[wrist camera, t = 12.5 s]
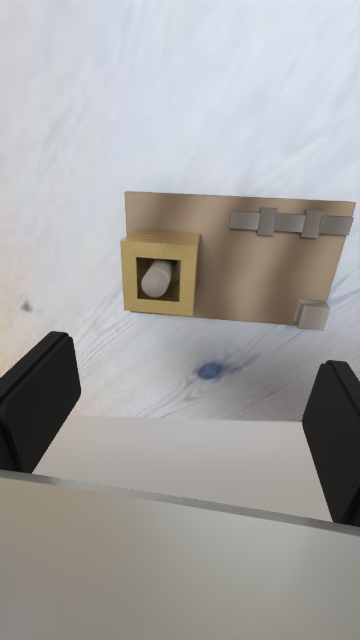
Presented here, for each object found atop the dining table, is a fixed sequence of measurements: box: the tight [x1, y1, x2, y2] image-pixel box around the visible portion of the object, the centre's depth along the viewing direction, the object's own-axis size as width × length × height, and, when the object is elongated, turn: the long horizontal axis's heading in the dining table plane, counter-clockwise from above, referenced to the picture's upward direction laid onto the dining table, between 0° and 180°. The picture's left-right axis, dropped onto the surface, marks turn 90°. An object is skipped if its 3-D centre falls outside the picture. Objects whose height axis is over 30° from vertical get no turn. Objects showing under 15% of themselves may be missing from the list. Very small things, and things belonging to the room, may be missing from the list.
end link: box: [120, 230, 200, 316], centre depth 25 cm, size 6×6×5 cm
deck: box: [125, 191, 356, 330], centre depth 25 cm, size 20×12×8 cm, turn 88°
